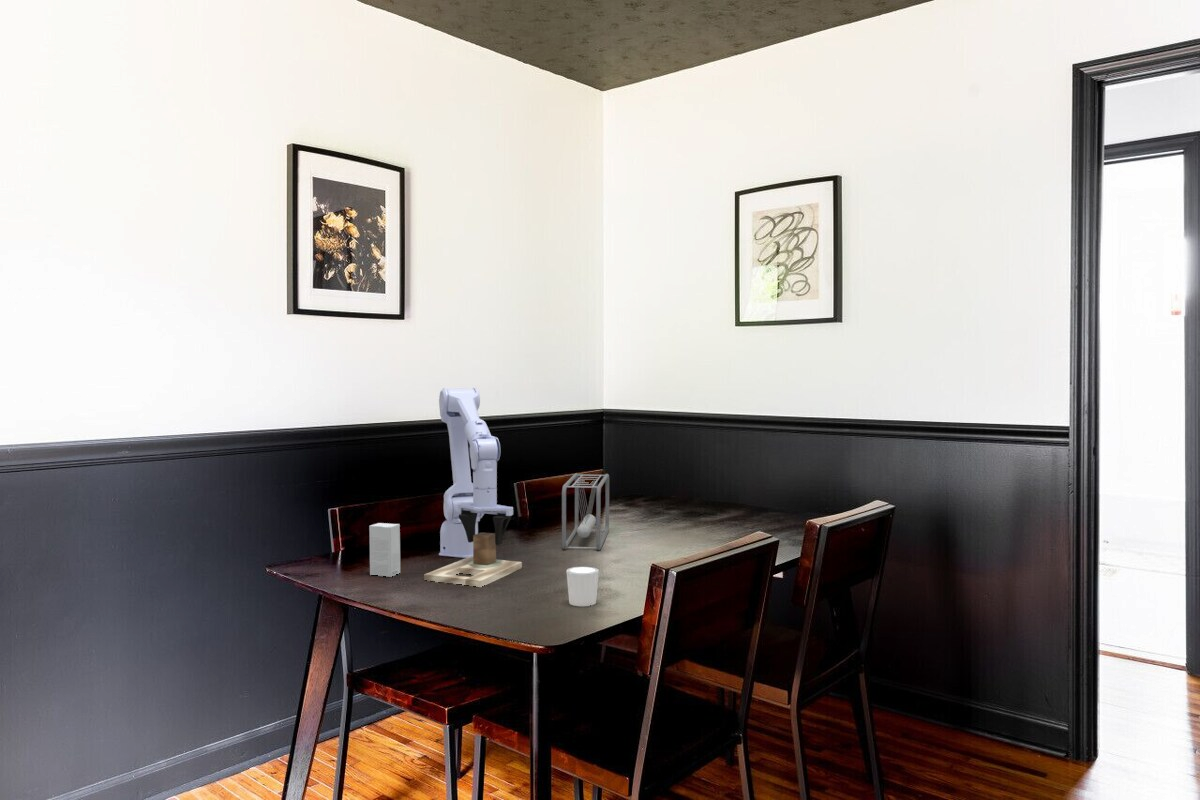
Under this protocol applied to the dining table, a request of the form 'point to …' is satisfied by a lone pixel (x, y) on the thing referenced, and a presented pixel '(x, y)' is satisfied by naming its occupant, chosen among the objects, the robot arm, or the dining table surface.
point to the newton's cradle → (589, 519)
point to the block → (484, 548)
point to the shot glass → (582, 585)
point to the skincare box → (384, 549)
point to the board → (473, 572)
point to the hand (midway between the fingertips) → (485, 543)
